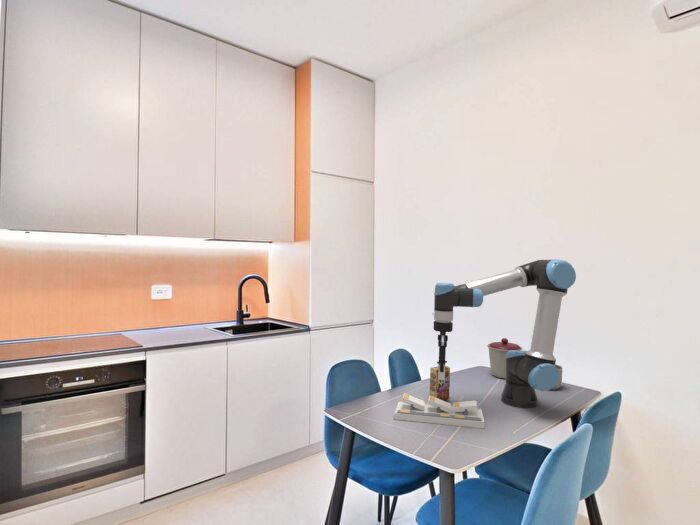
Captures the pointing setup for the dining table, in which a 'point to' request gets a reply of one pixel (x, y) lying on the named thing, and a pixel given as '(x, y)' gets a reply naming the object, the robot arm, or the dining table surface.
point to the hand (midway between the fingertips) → (441, 379)
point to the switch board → (439, 416)
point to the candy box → (439, 384)
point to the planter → (559, 377)
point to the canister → (500, 356)
